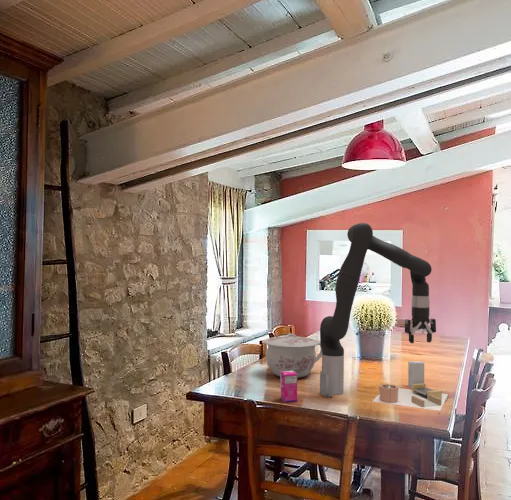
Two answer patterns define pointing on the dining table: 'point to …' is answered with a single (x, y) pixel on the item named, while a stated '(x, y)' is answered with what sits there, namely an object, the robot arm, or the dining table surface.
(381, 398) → the cup
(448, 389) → the dining table surface
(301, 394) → the dining table surface
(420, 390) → the plate
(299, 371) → the chamber pot
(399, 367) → the dining table surface
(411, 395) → the white square board
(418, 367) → the skincare box
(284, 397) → the supplement box
